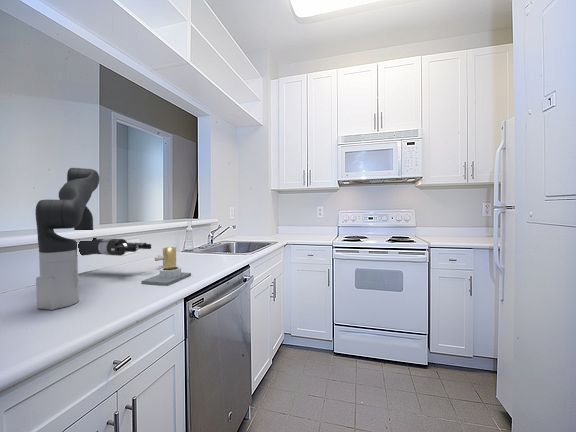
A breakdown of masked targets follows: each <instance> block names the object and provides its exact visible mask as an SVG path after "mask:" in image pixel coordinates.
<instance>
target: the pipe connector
mask: <svg viewBox="0 0 576 432" xmlns="http://www.w3.org/2000/svg"><path fill="white" fill-rule="evenodd" d="M164 248H165V247H163V248H162V254H161V255H160V254H159V255H157V257H154V261H155V262H160V261H162V268H164Z"/></svg>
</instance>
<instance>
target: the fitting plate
mask: <svg viewBox="0 0 576 432" xmlns="http://www.w3.org/2000/svg"><path fill="white" fill-rule="evenodd" d="M191 276H192V273H191V272H182V267H181V266H176V270H164V268H163V267H161V268H159V274H157V275H154V276H151V277H148V278H146V279H143V280H141V285H152V286H162V287H163V286H164V287H165V286H166V287H168V286H171V285H172V284H175V283H177V282H180V281H182V280H184V279H187V278H189V277H191Z"/></svg>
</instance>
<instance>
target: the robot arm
mask: <svg viewBox="0 0 576 432" xmlns="http://www.w3.org/2000/svg"><path fill="white" fill-rule="evenodd" d="M99 184H100V175H99V172H98V171H97V170H96V169H93V168H82V167H70V168H68V170H67V173H66V182H65V183H64V184H63V185H62V186H61V188H60V189H59V191H58V199H40V200H39V201H37V203H36V206H35V214H34V215H35V222H36V231H37V244H38V245H37V246H38V259H39V261H38V263H39V264H38V265H39V276H37V277H35V285H36V286H35V287H36V308H37V309H41V310H50V311H51V310H52V311H53V310H56V309H60V308H62V309H63V308H65V307H70V306H73V305H75V304H78V302H79V301H80V300H79V299H80V297H79V296H80V295H79V294H80V293H79V292H80V291H79V270H78V269H79V265H78V264H79V263H78V261H79V260H78V255H77V242H76V240H75V239H73V238H67V237H65V236H64V237H63V236H62V235H59V234H57V233H56V232H55V231H54V230H62V229H63V230H65V229H66V230H67V229H73V231H74V230H94V216H93V213H92V211H91V210H90V209H89V207H88V206H87V204H88V202H89V201H90V199H91V197H92V194H93V193H94V192H95V191H96V190H97V188H98V187H99ZM78 248H79V252H80V254H81V255H82V256H81V257H83V256H91V255H104V256H118V257H119V256H121V257H122V256H124V255H125V254H126V253H135V252H138V251H139V250H152V244H151V243H147V242H131V241H130V242H128V241H127V240H126V239H124V238H97V237H96V238H93V240H92V241H80V242H79V244H78Z"/></svg>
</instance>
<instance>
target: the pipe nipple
mask: <svg viewBox="0 0 576 432" xmlns="http://www.w3.org/2000/svg"><path fill="white" fill-rule="evenodd" d="M163 248H164V270H176V267H177V247H176V246H175V247H174V246H169V247H163Z"/></svg>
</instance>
